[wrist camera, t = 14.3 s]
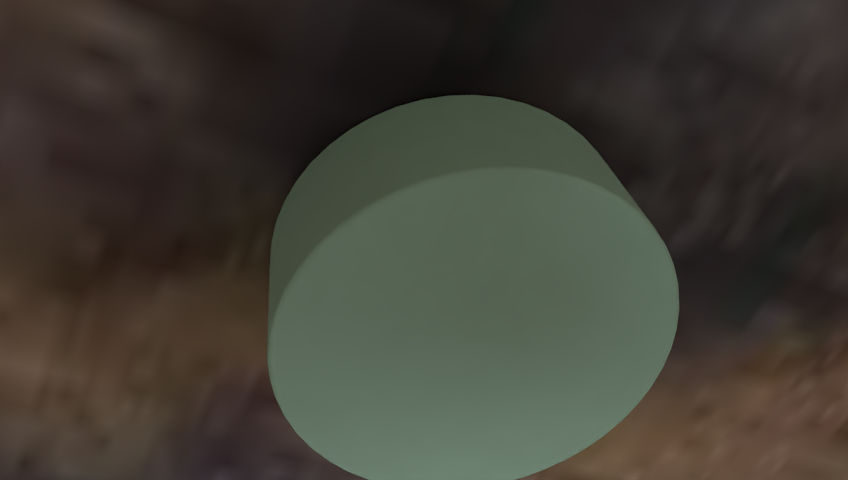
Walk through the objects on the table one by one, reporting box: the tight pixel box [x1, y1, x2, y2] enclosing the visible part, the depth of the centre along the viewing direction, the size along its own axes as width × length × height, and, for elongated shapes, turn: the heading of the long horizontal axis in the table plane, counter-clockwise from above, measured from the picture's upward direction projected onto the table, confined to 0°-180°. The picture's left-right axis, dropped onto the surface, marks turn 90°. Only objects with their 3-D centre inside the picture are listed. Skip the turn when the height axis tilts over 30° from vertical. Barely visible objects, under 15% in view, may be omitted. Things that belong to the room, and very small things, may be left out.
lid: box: [267, 95, 679, 480], centre depth 12 cm, size 6×6×2 cm
